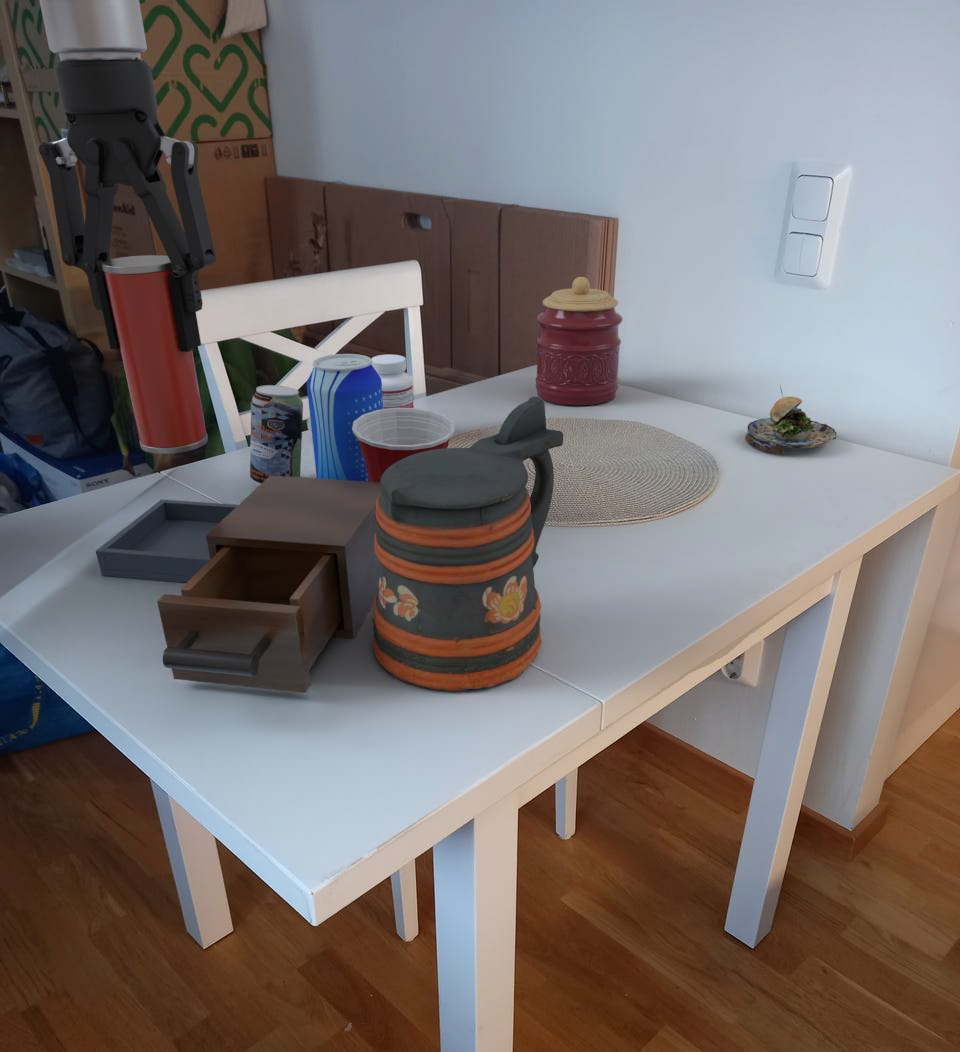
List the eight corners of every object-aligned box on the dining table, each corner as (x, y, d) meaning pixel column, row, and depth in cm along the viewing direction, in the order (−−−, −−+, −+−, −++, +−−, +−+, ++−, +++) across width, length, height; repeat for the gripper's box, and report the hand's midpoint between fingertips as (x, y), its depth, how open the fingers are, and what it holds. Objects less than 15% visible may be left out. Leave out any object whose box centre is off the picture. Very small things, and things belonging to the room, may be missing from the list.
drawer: (286, 724, 70) (273, 642, 66) (147, 709, 72) (128, 628, 68) (357, 611, 85) (350, 539, 81) (241, 601, 87) (229, 530, 83)
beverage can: (243, 484, 115) (228, 388, 108) (294, 470, 119) (283, 377, 113) (267, 499, 111) (254, 399, 104) (320, 484, 115) (310, 387, 108)
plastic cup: (393, 557, 96) (385, 446, 90) (342, 523, 104) (332, 419, 98) (477, 531, 102) (475, 425, 96) (423, 501, 109) (418, 400, 103)
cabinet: (353, 638, 82) (344, 546, 78) (221, 626, 84) (205, 535, 80) (397, 566, 95) (391, 482, 90) (281, 557, 97) (270, 475, 92)
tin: (128, 452, 90) (87, 266, 81) (160, 431, 95) (125, 254, 87) (189, 455, 89) (155, 267, 80) (218, 434, 94) (189, 255, 85)
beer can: (360, 514, 106) (348, 374, 98) (304, 500, 110) (288, 364, 102) (402, 490, 112) (395, 357, 104) (348, 478, 116) (337, 348, 108)
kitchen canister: (627, 404, 141) (636, 283, 132) (543, 409, 140) (547, 286, 131) (605, 382, 152) (612, 268, 143) (528, 385, 151) (530, 271, 142)
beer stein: (477, 575, 93) (475, 375, 82) (601, 620, 85) (615, 405, 74) (338, 653, 80) (315, 429, 70) (468, 715, 72) (463, 471, 62)
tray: (101, 575, 94) (95, 550, 92) (165, 522, 105) (161, 499, 104) (226, 586, 91) (222, 561, 90) (278, 530, 103) (275, 507, 101)
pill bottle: (371, 432, 132) (366, 353, 126) (414, 431, 132) (411, 352, 126) (370, 446, 126) (364, 365, 121) (415, 445, 127) (411, 363, 121)
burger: (782, 463, 119) (792, 405, 115) (726, 436, 128) (733, 382, 124) (855, 449, 123) (866, 393, 119) (795, 424, 132) (804, 371, 129)
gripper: (231, 56, 77) (268, 340, 89) (22, 61, 80) (84, 334, 92) (190, 54, 70) (235, 360, 82) (-35, 59, 74) (40, 353, 86)
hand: (156, 346), depth 87 cm, fingers closed on tin, 6 cm apart
